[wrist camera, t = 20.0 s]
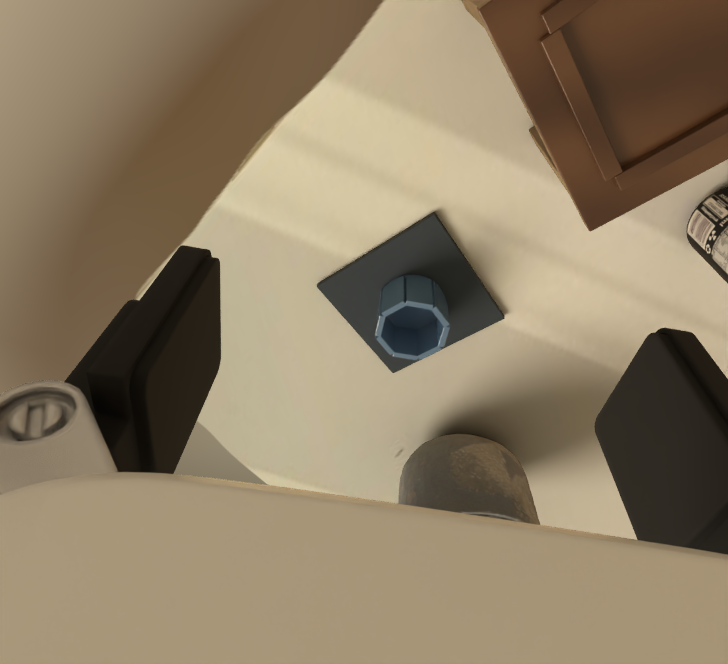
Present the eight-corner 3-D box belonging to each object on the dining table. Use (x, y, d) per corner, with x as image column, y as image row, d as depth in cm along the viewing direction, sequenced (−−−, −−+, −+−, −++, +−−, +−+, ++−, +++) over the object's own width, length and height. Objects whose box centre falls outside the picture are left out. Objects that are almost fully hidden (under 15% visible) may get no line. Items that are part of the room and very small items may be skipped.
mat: (317, 283, 53) (316, 286, 53) (434, 211, 48) (434, 214, 47) (393, 370, 60) (392, 373, 59) (503, 315, 54) (504, 318, 54)
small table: (452, -12, 38) (478, 11, 24) (649, -169, 32) (823, -251, 19) (535, 149, 44) (592, 236, 31) (712, 40, 38) (874, 89, 25)
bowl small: (365, 295, 53) (362, 323, 49) (422, 262, 50) (423, 289, 46) (401, 339, 56) (401, 369, 52) (457, 310, 53) (461, 340, 49)
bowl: (368, 473, 71) (361, 580, 59) (418, 386, 61) (421, 494, 49) (485, 505, 74) (501, 614, 62) (552, 426, 64) (586, 538, 52)
